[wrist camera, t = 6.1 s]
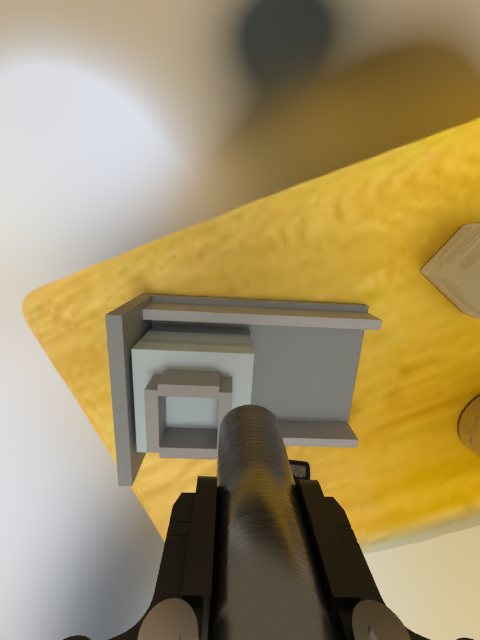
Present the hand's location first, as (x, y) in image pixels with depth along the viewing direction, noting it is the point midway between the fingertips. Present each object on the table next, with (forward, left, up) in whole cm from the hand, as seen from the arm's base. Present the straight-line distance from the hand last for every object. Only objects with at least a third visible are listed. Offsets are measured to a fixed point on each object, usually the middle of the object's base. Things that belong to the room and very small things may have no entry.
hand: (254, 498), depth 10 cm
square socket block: (+4, +5, -20) cm, 21 cm away
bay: (-1, +5, -21) cm, 22 cm away
